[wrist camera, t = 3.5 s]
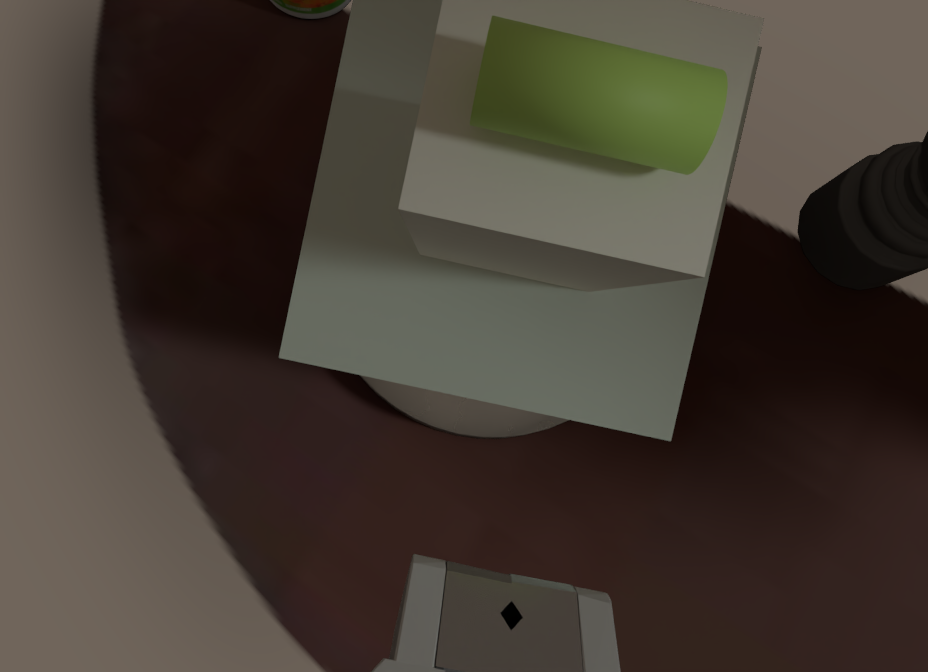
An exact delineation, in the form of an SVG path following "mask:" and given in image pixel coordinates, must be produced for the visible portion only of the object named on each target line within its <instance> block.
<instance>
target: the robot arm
mask: <svg viewBox="0 0 928 672" xmlns="http://www.w3.org/2000/svg"><path fill="white" fill-rule="evenodd" d="M371 672H620V665H619V657H618V650H617V642H616V635H615V627H614V620H613V612H612V605H611V600H610V598H609V596H608V594H607V593H605V592H600V591H595V590H589V589H584V588H579V587H573V586H572V585H568V584H563V583H557V582H552V581H546V580H541V579H536V578H530V577H525V576H519V575H514V574H509V575H507V574H502V573H498V572H493V571H489V570H484V569H480V568H476V567H471V566H467V565H462V564H458V563H454V562H449V561H447V562H446V561H445V560H440V559H435V558H430V557H426V556H421V555H416V554H413V556H412V559H411V563H410V567H409V571H408V575H407V579H406V583H405V588H404V592H403V596H402V600H401V604H400V609H399V613H398V618H397V622H396V626H395V631H394V636H393V642H392V647H391V652H390V658H389V659H386V658H383V659H382V661H381V662H380V663H379V664H378V665H377V666H376V667H375V668H374V669H373V670H372V671H371Z"/></svg>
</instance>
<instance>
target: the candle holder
mask: <svg viewBox="0 0 928 672" xmlns="http://www.w3.org/2000/svg"><path fill="white" fill-rule="evenodd" d="M798 235H799V238H800V242H801V245H802V249H803V252H804V254H805V256H806V257H807V258H808V260H809V261H810V262H811V264H812V265H813V266H814V268H815V269H816V270H817V272H818V273H820V274H821V275H823V276H824V277H826V278H827V279H829V280H830V281H832V282H833V283H835V284H836V285H839V286H843V287H848V288H852V289H856V290H863V289H869V288H875V287H880V286H883V285H885V284H888V283H891V282H893V281H896V280H899V279H901V278H904V277H906V276H909V275H912V274H914V273H917V272H920V271H922V270H925V269H927V268H928V132H927V134H926V136H925V138H924V140H923V142H911V143H903V144H896V145H893V146H891V147H889V148H888V149H886V150H885V151H883V152H881V153H880V154H876V155H869V156H867V157H865V158H864V159H862V160H861V161H859V162H858V163H856V164H854V165H853V166H851V167H850V168H848V169H847V170H846V171H844V172H842V173H841V174H840V175H838V176H837V177H835V178H834V179H832V180H831V181H829V182H828V183H826V184H825V185H823V186H822V187H821V188H819V189H818V190H816V191H815V192H813V193H812V194H810V196H809V197H808V199H807V201H806V202H805V204H804V206H803V207H802V209H801V210H800V215H799V225H798Z"/></svg>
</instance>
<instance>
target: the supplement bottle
mask: <svg viewBox="0 0 928 672" xmlns="http://www.w3.org/2000/svg"><path fill="white" fill-rule="evenodd" d="M270 1H271V2H272V3H273V4H274V5H275V6H276V7H277V8H279V9H280V10H282V11H283V12H285V13H287V14H289V15H292V16H295V17H299V18H304V19H319V18H324V17H328V16H331V15H333V14H335V13H337V12H339V11H341V10H342V9H343V8H344V7H346V6H347V5H348V3H349V2H350V1H351V0H270Z"/></svg>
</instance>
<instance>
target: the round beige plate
mask: <svg viewBox="0 0 928 672" xmlns="http://www.w3.org/2000/svg"><path fill="white" fill-rule="evenodd" d="M360 376H361V378H362V379H363V380H364V382H365V383H366V384H367V385H368V386H369V387H370V388H371V389H372V390H373V391H374V392H375V393H376V394H377V395H378V396H379V397H380V398H381V399H383V400H384V401H385V402H387V403H388V404H389V405H390V406H392V407H393V408H394V409H395V410H397V411H399V412H400V413H402V414H404V415H405V416H407V417H409V418H410V419H412V420H414V421H416V422H418V423H420V424H423V425H425V426H427V427H430V428H432V429H434V430H438V431H441V432H445V433H448V434H452V435H455V436H462V437H469V438H476V439H501V438H509V437H517V436H522V435H526V434H530V433H534V432H537V431H541V430H545V429H549V428H551V427H554V426H556V425H558V424H561V423H563V422H566V421H568V419H564V418H559V417H554V416H549V415H545V414H540V413H535V412H531V411H526V410H521V409H517V408H512V407H507V406H503V405H498V404H493V403H489V402H484V401H479V400H474V399H470V398H465V397H460V396H456V395H451V394H446V393H442V392H437V391H432V390H428V389H423V388H418V387H414V386H409V385H404V384H399V383H395V382H390V381H385V380H381V379H376V378H371V377H367V376H362V375H360Z"/></svg>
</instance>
